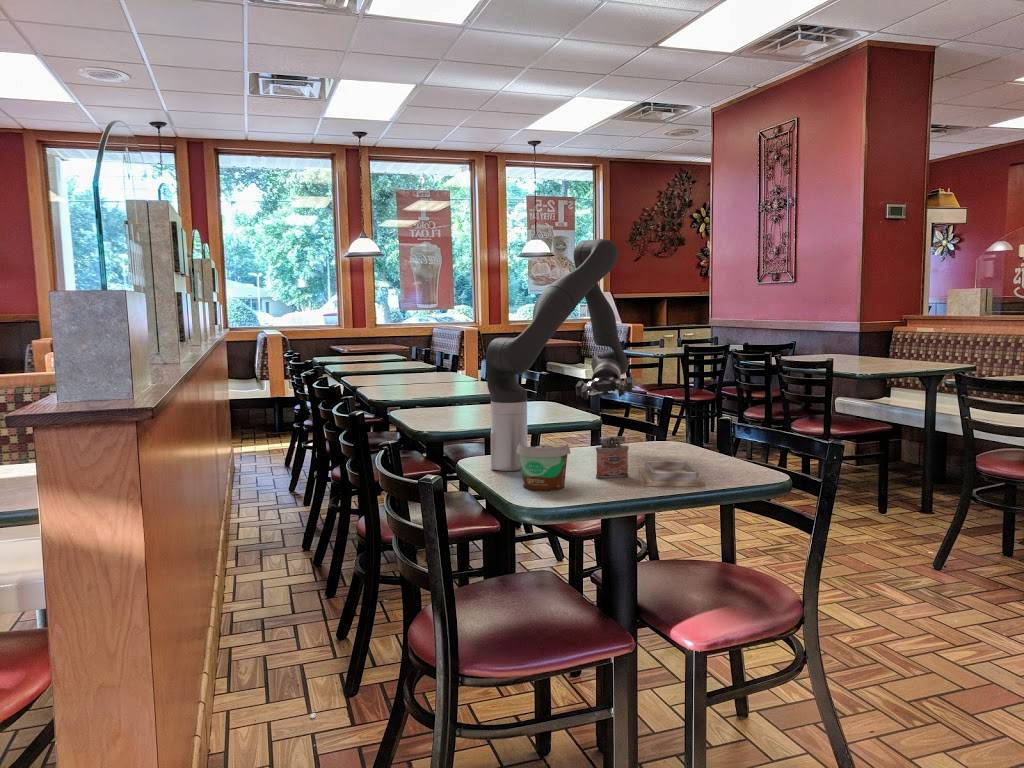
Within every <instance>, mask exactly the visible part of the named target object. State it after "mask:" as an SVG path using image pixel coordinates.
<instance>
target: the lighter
mask: <svg viewBox="0 0 1024 768" xmlns="http://www.w3.org/2000/svg"><path fill="white" fill-rule="evenodd" d="M622 443H626V436H624V435H623V436H621V435H620V436H615V437H614V436H612V435H608V436H607V437H605V438H604V437H602V438H600V445H601V446H596V447H595V451H596V474H595V479H596V480H600V481H603V480H605V481H607V480H608V481H609V480H611V481H612V480H622V479H628V478H629V473H628V472H629V471H628V468H629V465H628V464H629V462H628V461H629V458H628V457H629V455H628V453H629V452H628V451H629V446H628V445H624V444H623V445H621V444H622Z"/></svg>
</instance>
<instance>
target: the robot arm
mask: <svg viewBox="0 0 1024 768" xmlns="http://www.w3.org/2000/svg"><path fill="white" fill-rule="evenodd" d="M618 254H619V252H618V248H617V245H616V243H614V242H613V241H612V240H610V239H606V238H597V239H589V240H588V239H587V240H581V241H579V242H577V244H575V247H574V250H573V262H574V268H575V269H574V270H573V269H572V271H570V272H568V273H567V274H565V275H562V276H561V277H559V278H558V279H556V280H555V281H553V282H552V283H550V285H548V287H546V289H545V290H544V291H543V292H542V293H541V294H540V295H539V296H538V297H537V299H536V300H535V303H534V305H533V309H532V318H531V322H530V323H529V324H528V326H527V327H526V328H525V329H524V330H523V331H522V332H521V333H520V334H519V335H518V336H516V337H496V338H494V339H493V340H491V341H490V342H489V344H488V345H487V349H486V356H485V368H486V386H487V390H488V393H489V395H490V424H491V425H490V427H491V430H490V470H494V471H495V470H496V471H502V472H503V471H504V472H510V471H511V472H512V471H521V462H520V454H517V447H518V445H519V442H520V445H522V446H527V447H528V391H527V390H526V389H525V388H524V386H523V387H522V385H520V384H519V383H518V381H517V380H516V375H522V374H524V373H526V372H527V371H528V370H529V369H530V368H531V367H532V366H533V365H534V363H535V361H536V360H537V358H538V357H539V356H540V354H541V352H542V350H543V349H544V347H546V345H547V343H548V342H549V340H550V339H551V338H552V337H553V335H555V333H556V332H557V331H558V329H559V328H560V327H561V325H562V324H564V323H565V321H566V320H567V319H568V318H569V317H570V316H571V314H572V313H573V312H574V310H575V309H576V308H577V307H578V305H579V304H580V303H581V302H582V300H584V299H585V301H586V306H587V308H588V313H589V318H590V323H591V325H590V326H591V329H592V330H591V331H592V337H593V342H594V344H595V345H596V346H599V347H608V348H610V349H611V350H612V351H608V352H607V351H605V352H601V353H597V354H595V355H593V356H592V359H591V364H590V366H591V370H592V372H593V373H592V377H591V380H589V381H588V382H587V383H585V381H584V380H579V381H577V384H576V385H575V392H576V396H577V397H580V396H581V397H582V398H584V400H588V398H589V396H594V395H599V396H604V397H607V396H611V395H614V394H615V395H616V394H618V397H619V398H622V397H623V396H625V394H626V392H627V393H629V394H630V393H631V394H632V393H633V384H632V377H631V376H630V377H626V378H624V380H622V377H621V375H622V376H623V375H625V374H626V373H627V372H628V369H629V360H628V358H627V355H626V353H625V351H624V348H623V347H622V344H621V342H620V338H619V333H618V332H619V331H618V326H617V319H616V316H615V315H616V314H615V312H614V310H613V307H612V306H611V304H610V302H609V301H608V299H607V298H606V296H605V295H604V292H603V291H602V289H601V287H600V284H599V282H600V281H601V280H602V279H604V277H605V276H607V275H608V274H609V273H610V272H611V271H612V269H613V268H614V267H615V265H616V263H617V260H618V256H619V255H618Z"/></svg>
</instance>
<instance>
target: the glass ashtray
mask: <svg viewBox="0 0 1024 768" xmlns="http://www.w3.org/2000/svg"><path fill="white" fill-rule="evenodd" d="M638 474H639V476H640V477H641V479H642V481H643V482H644V484H645V485H646V487H706V481H705V480H704V479H703V478H702V477H701V476H700V472H699V471H698V470H697V469H696V468H695V467H694V466H693V465H692V464H691V463H690V462H689V461H687V460H670V461H669V460H666V461H665V460H663V461H661V460H657V461H656V460H655V461H654V460H651V461H650V460H649V461H648V460H646V461H645V460H644V461H643V468H642V469H641V468H639V469H638Z"/></svg>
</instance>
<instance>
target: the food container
mask: <svg viewBox="0 0 1024 768" xmlns="http://www.w3.org/2000/svg"><path fill="white" fill-rule="evenodd" d="M517 454H520V462H521V470H520V472H521V478H522V480H521V481H522V487H523V489H525V490H528V491H532V492H540V493H541V492H544V493H545V492H556V491H557V492H558V491H560V490H562V489H564V488H565V484H566V483H565V482H566V473H567V472H566V471H567V463H568V455H570V454H571V448H570V446H569V443H567V444H565V445H561V446H549V445H536V446H528V445H527V446H522V445H520V442H519V445H518V447H517Z"/></svg>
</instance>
